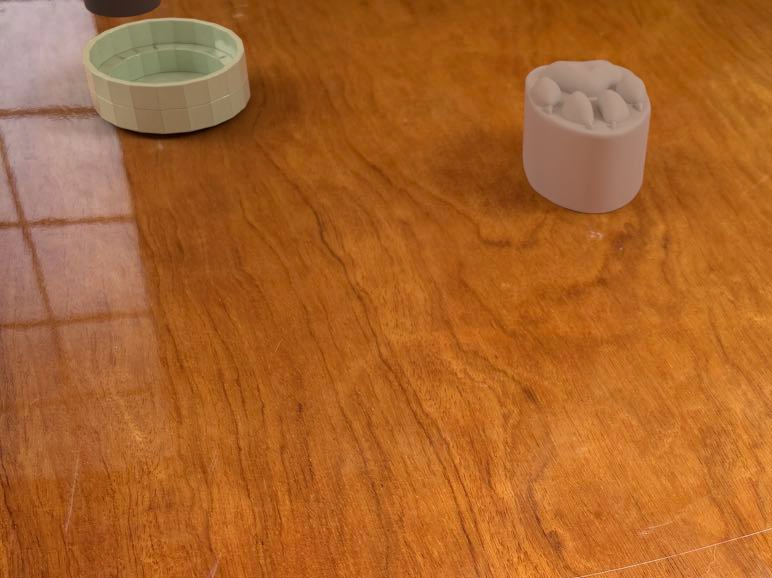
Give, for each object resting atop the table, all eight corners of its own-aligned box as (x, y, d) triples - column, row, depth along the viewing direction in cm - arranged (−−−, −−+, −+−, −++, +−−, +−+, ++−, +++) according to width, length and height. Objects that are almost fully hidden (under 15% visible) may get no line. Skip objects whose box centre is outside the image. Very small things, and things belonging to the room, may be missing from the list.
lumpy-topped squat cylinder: (625, 136, 109) (634, 45, 103) (656, 210, 101) (669, 115, 94) (515, 141, 108) (518, 48, 102) (538, 216, 99) (543, 119, 93)
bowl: (162, 156, 103) (151, 102, 100) (63, 103, 109) (49, 50, 105) (282, 101, 111) (275, 49, 108) (183, 55, 117) (174, 4, 113)
